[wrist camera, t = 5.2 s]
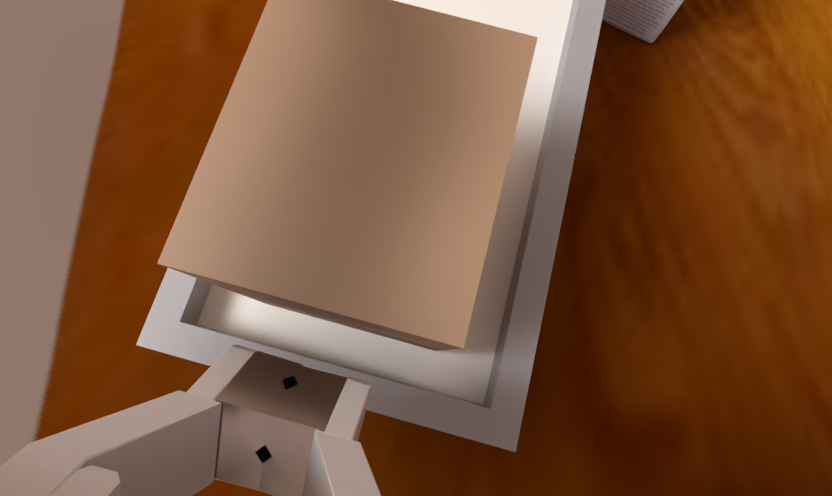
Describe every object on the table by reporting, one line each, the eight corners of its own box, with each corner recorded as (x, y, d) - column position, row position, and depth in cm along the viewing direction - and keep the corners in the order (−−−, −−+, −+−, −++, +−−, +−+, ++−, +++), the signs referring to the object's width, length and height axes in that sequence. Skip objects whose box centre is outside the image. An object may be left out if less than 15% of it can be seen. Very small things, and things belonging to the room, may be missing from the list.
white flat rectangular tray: (617, -137, 22) (646, -203, 20) (496, 435, 16) (515, 452, 13) (389, -193, 23) (387, -264, 20) (178, 346, 16) (136, 344, 14)
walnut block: (481, 166, 17) (537, 37, 10) (434, 350, 15) (463, 348, 8) (328, 126, 17) (280, -29, 10) (265, 303, 15) (156, 263, 8)
